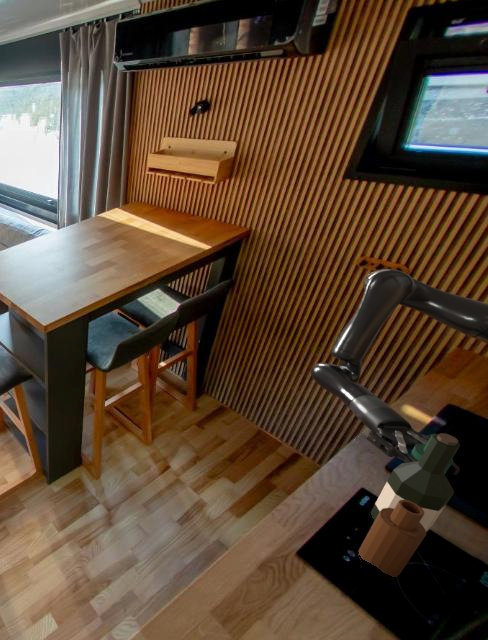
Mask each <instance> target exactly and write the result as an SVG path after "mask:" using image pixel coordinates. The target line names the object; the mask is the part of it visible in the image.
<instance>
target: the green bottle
mask: <svg viewBox="0 0 488 640" xmlns="http://www.w3.org/2000/svg"><path fill="white" fill-rule="evenodd" d="M436 434H437V433H433V435H431V437H430V439H429V441H428V442H427V444H417V445H416V446H415V447H414V448H413V450H412V449H411V451H410V454H411V455H412V456H413V457H414V458H415V459H417V460H418V461H419V460H420V459H421V457H422V455H423V453H424V451H425V450H426V448H427V446H428V444H429V443H430V441H431V439H432V437H433V436H435V435H436ZM453 462H454V459H453V458H452V460H451V461H450V463H449V464H448V466H447V468H446V469H445V471H444V474H445V475H446V474H447V472H448V471H447V470H448V469H449V467H450V466H451V464H452V463H453Z"/></svg>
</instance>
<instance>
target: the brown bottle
mask: <svg viewBox="0 0 488 640" xmlns="http://www.w3.org/2000/svg"><path fill="white" fill-rule="evenodd" d="M423 516H424V511H423V509H422V508H421V507H420V506H418V505H417V504H415V503H413V502H411V501H409V500H399V502H398V503H397V505H396V507H395V509H393V508H383V509H382V510H381V511H380V512H379V514H378V516H377V518H376V519H375V521H373V523H372V525H371V527H370V528H369V530H368V532H367V534H366V536H365V537H364V539H363V541H362V543H361V545H360V547H359V549H358V552H359V554H358V556H359V555H360V556H361V558H362V559H363V560H365V561H367V562H369V563H371V564H372V565H374V566H376V567H377V568H378V569H380V570H381V571H382V572H383V573H385V574H388V575H390V576H392V577H396V578H398V577H399V576H400V575H401V573H402V571H403V570H404V569H405V568H406V565H408V563H409V561H410V559H411V558H412V557H413V555H414V553H416V551H417V549H418V548H419V546H420V545H421V543H422V541H423V540H424V539H425V537H426V536H427V534H426V531H425V528H424V527H423V526H422V524H421V523H420V520H421V519H422V517H423ZM398 575H399V576H398ZM397 576H398V577H397Z"/></svg>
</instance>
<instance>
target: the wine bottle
mask: <svg viewBox="0 0 488 640" xmlns="http://www.w3.org/2000/svg"><path fill="white" fill-rule="evenodd" d="M435 434H436V435H435V436H433V437H432V439H431V441H430V443H429V444H428V446H427V448H426V450H425V451H424V453H423V455H422V457H421V459H420V460H419V461H417V462H409V463H405V462H404V463H403V462H402V463H400V464H399V465H397V466H396V467H395V468H394V469H393V470H392V471H391V473H390V475H389V477H388V479H387V480H386V482H385V484H384V486H383V488H382V490H381V492H380V494H379V495H378V498H377V500H376V501H375V503H374V505H373V507H372V509H371V511H370V513H371V515H372V518H373V519H374V521H375V519H376V518H377V516H378V514H379V512H380V511H381V510H382V509H383V508H393V509H395V507H396V505H397V503H398V502H399V500H409V501H411V502H413V503H415V504H417V505H418V506H420V507H421V508H422V509H423V511H424V516H423V517H422V519H421V520H420V523H421V524H422V526H423V527H424V528H425V531H426V535H427V534H428V533H429V531H430V529H432V527H433V525H434V524H435V522H436V521H437V519H438V517H439V516H440V515H441V513H442V512H443V510H444V509H445V508H446V506H447V504H448V503H449V502H450V500H451V498H452V497H453V495H454V494H455V490H454V488H453V487H452V485H451V483H450V481H449V480H448V478H447V476H446V474H444V471H445V469H446V468H447V466H448V464H449V463H450V461H451V460H452V459H453V458H454V456H455V455H456V453H457V452H458V450H459V449H460V447H461V444H460V443H459V439H457V437H455V436H452V434H451V435H450V434H449V433H443V432H440V433H435ZM372 518H371V519H372ZM373 519H372V520H373ZM374 521H373V522H374Z"/></svg>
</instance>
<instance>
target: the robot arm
mask: <svg viewBox="0 0 488 640" xmlns="http://www.w3.org/2000/svg"><path fill="white" fill-rule="evenodd" d="M362 286H363V289H364V291H363V295H362V297H361V298H362V299H361V301H360V303H359V305H358V307H357V308H356V311H355V313H354V314H353V315H352V317H351V318H350V320H349V321H348V322H347V323H346V325H345V326H344V327H343V329H342V330H341V332H339V335H338V336H337V338H336V340H335V341H334V343H333V345H332V347H331V349H330V354H331V356H332V357H334V358H337V359H338V365H337V364H332V363H328V362H317V363H315V364H314V365H312V366H311V368H310V375H311V377H312V379H313V381H315V383H316V384H317V385H318V386H319V387H321V388H322V389H324V390H326V391H327V392H328V393H331V395H333V396H335V397H336V398H338V399H339V400H341V402H342V403H343V404H344V405H345V406H346V407H347V408H348V409H350V411H351V412H353V414H354V415H355V417H357V419H359V420H360V421H361V422H362V424H364V425H365V426H366V427H367V429H369V430H370V431H369V433H368V435H367V437H366V440H367V441H369V442H370V443H371V444H372V445H374V447H376V448H377V449H378V450H380V451H381V452H382V453H383V454H385V455H386V456H387V457H389V458H393V457H395V458H398V459H399V460H401V461H403V462H404V463H409V462H417V461H418V460H417V459H415V458H414V457H413V456H412V455H411V453H409V451H408V450H411V451H412V450H413V448H414V447H415V446H416V445H417V444H427V442H428V441H429V439H430V437H431V435H433V434H434V433H429V435H427V434H422V433H420V432H418V431H417V430H415V429H414V428H412V426H411V423H410V422H409V421H408V420H407V419H405V418H404V417H403V416H402V415H401V414H399V413H398V412H397V411H396V410H395V409H393V408H392V407H391V406H390V405H389V404H388V403H387V402H385V401H384V400H382V399H381V398H379V397H378V396H377V395H376V394H375V393H373V392H372V391H371V390H370V389H368V388H367V387H365V386H364V385H363V384H361V383H359V381H360V378H361V372H362V367H363V360H364V358H365V357H366V355H367V354H368V352H369V350H370V348H371V347H372V345H373V344H374V343H375V342H374V341H375V340H376V338H377V336H378V334H379V333H380V331H381V329H382V327H383V326H384V325H385V323H386V321H387V320H388V318H389V317H390V316H391V315H392V313H393V312H394V311H395V309H397V307H398V306H399V305H400V306H403V307H406V308H409V309H412V310H414V311H417V312H420V313H421V314H424V315H425V316H428V317H429V318H432V319H433V320H435V321H437V322H438V323H441V324H442V325H444V326H446V327H448V328H450V329H452V330H455V331H457V332H459V333H461V334H463V335H465V336H468V337H469V338H472V339H475V340H477V341H479V342H482V343H485V344H487V345H488V303H486V302H483V301H479V300H477V299H473V298H468V297H466V296H461V295H458V294H454V293H450V292H447V291H444V290H442V289H439V288H436V287H433V286H431V285H428V284H426V283H424V282H422V281H419V280H417V279H415V278H414V277H412V276H411V275H409V274H408V273H406V272H404V271H402V270H398V269H393V268H382V269H381V268H380V269H377V270H374V271H372V272H370V273H368V274H367V275H365V277H364V278H363V280H362ZM460 471H461V469H460V466H459V465H457V463H455V462H454V461H453V463H452V464H451V466H450V467H449V469H448V470H447V472H448V473H449V474H450V475H455V476H457V475H458V474H459V473H460Z"/></svg>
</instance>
